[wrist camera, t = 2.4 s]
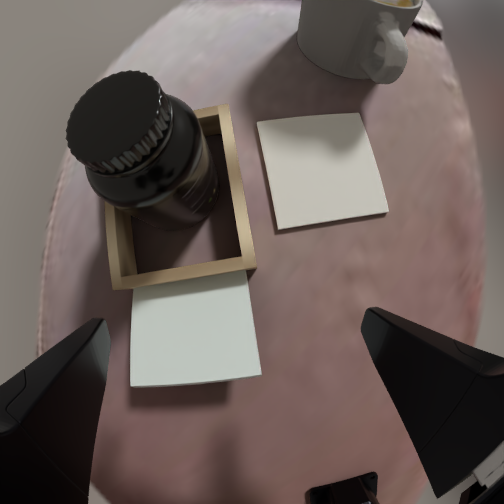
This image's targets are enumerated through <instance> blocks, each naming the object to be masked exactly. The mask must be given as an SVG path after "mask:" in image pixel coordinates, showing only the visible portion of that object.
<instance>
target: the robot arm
mask: <svg viewBox="0 0 504 504" xmlns="http://www.w3.org/2000/svg"><path fill="white" fill-rule="evenodd" d="M361 333H362V335H363V338H364V340H365V343H366V345H367V348H368V350H369V353H370V355H371V358H372V360H373V363H374V365H375V367H376V369H377V371H378V373H379V375H380V377H381V379H382V381H383V383H384V385H385V387H386V389H387V391H388V393H389V395H390V397H391V399H392V401H393V403H394V405H395V407H396V409H397V411H398V413H399V415H400V417H401V419H402V421H403V423H404V425H405V427H406V430H407V432H408V434H409V436H410V438H411V440H412V442H413V445H414V447H415V449H416V451H417V453H418V456H419V458H420V461H421V463H422V465H423V467H424V470H425V472H426V474H427V477H428V479H429V481H430V484H431V486H432V489H433V491H434V493H435V495H436V497H437V498H440V497H441V496H443V495H444V494H446V493H447V492H449V491H450V490H451V489H453V488H455V487H456V486H457V485H459V484H460V483H462V482H463V481H464V480H466V479H467V478H468V477H470V476H471V475H472V474H473V475H474V476H475V478H476V479H477V482H475V483H474V484H473V485H472V486H470V487H469V488H468V489H467V490H465V491H464V492H463V493H462V494H461V497H460V502H459V504H504V358H503V357H500V356H497V355H494V354H491V353H488V352H486V351H483V350H480V349H477V348H474V347H472V346H469V345H467V344H464V343H462V342H459V341H457V340H455V339H452V338H450V337H447V336H445V335H443V334H440V333H438V332H436V331H433V330H431V329H428V328H426V327H424V326H421V325H419V324H417V323H414V322H412V321H409V320H407V319H405V318H402V317H400V316H398V315H395V314H393V313H391V312H388V311H386V310H383V309H381V308H379V307H371V308H368V309H367V310H366V311H365V315H364V318H363V321H362V325H361ZM110 346H111V340H110V336H109V332H108V328H107V323H106V321H105V319H103V318H92V319H91V320H89V321H88V322H87V323H85V324H84V325H82V326H81V327H80V328H78V329H77V330H75V331H74V332H73V333H71V334H70V335H68V336H67V337H66V338H64V339H63V340H62V341H60V342H59V343H57V344H56V345H55V346H53V347H52V348H51V349H49V350H48V351H47V352H45V353H44V354H43V355H41V356H40V357H38V358H37V359H36V360H34V361H33V362H32V363H30V364H29V365H28V366H26V367H25V369H23V370H21V371H20V372H19V373H17V374H16V375H15V376H13V377H12V378H10V379H9V380H8V381H7V382H5V383H3V384H2V385H1V386H0V504H88V496H89V485H90V475H91V467H92V459H93V452H94V445H95V439H96V433H97V427H98V421H99V416H100V411H101V406H102V401H103V396H104V391H105V386H106V380H107V371H108V362H109V354H110ZM372 476H373V477H372ZM377 480H378V475H377V473H376V472H370V473H367V474H364V475H361V476H357V477H354V478H351V479H347V480H343V481H340V482H336V483H332V484H328V485H323V486H319V487H314V488H312V489H310V491H309V494H310V502H311V504H379V502H378V500H377V498H376V495H377ZM313 492H314V493H313Z"/></svg>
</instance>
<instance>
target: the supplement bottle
mask: <svg viewBox="0 0 504 504" xmlns="http://www.w3.org/2000/svg"><path fill="white" fill-rule="evenodd" d="M66 132H67V136H66V140H67V141H68V147H69V148H70V149H71V150H70V151H71V153H72V155H74V156H75V157H76V159H77V160H78V161H79V162H81V163H82V164H84V165H85V170H86V174H87V178H88V181H89V183H90V185H91V187H92V188H93V190H94V191H95V193H96V194H97V195H98V196H99V197H100V198H101V199H103V200H104V201H106V202H107V203H109V204H110V205H112V206H114V207H116V208H118V209H120V210H122V211H124V212H126V213H128V214H130V215H132V216H134V217H136V218H138V219H140V220H142V221H144V222H146V223H148V224H150V225H152V226H154V227H157V228H159V229H163V230H169V231H177V230H183V229H186V228H189V227H191V226H193V225H195V224H197V223H198V222H200V221H201V220H202V219H203V218H205V217H206V215H207V214H208V213H209V212H210V211H211V209H212V208H213V206H214V204H215V202H216V199H217V196H218V191H219V178H218V173H217V170H216V167H215V164H214V161H213V158H212V155H211V153H210V150H209V147H208V144H207V142H206V139H205V136H204V133H203V130H202V128H201V125H200V123H199V120H198V118H197V116H196V115H195V113H194V112H193V110H192V109H191V108H190V107H189V106H188V105H187V104H186V103H185V102H183V101H182V100H180V99H178V98H176V97H174V96H171V95H168V94H165V93H164V92H163V90H162V89H161V86H160V85H159V83H158V82H157V81H155V79H154V78H153V77H152V76H148V74H147V73H141V72H140V71H131V70H129V71H126V72H123V71H121V72H119V73H117V74H112V75H110V76H109V77H106V78H103V79H102V80H101V81H99V82H97V83H95V84H94V85H93V86H92V87H91V88H90V89H88V90H87V91H86V93H85V94H84V95H83V96H82V97H81V98H80V100H79V101H78V103H76V105H75V107H74V109H73V111H72V112H71V115H70V118H69V120H68V126H67V129H66Z"/></svg>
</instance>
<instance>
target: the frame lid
mask: <svg viewBox="0 0 504 504" xmlns="http://www.w3.org/2000/svg"><path fill="white" fill-rule="evenodd" d="M260 376H262V372H261V366H260V359H259V353H258V346H257V340H256V333H255V327H254V320H253V314H252V307H251V301H250V294H249V287H248V281H247V274H246V270H242V271H236V272H230V273H224V274H218V275H212V276H206V277H200V278H194V279H188V280H182V281H176V282H169V283H163V284H157V285H151V286H144V287H138V288H133V302H132V319H131V349H130V383H131V386H132V387H135V388H137V387H165V386H181V385H194V384H205V383H215V382H224V381H232V380H240V379H247V378H254V377H260Z"/></svg>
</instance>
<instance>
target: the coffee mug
mask: <svg viewBox="0 0 504 504" xmlns="http://www.w3.org/2000/svg"><path fill="white" fill-rule="evenodd" d="M422 3H423V0H302V4H301V11H300V18H299V25H298V32H297V43H298V45H299V47H300V50H301V51H302V52H303V54H304V55H305V56H306V57H307V58H308V59H309V60H310V61H312V62H313V63H314V64H316V65H317V66H319V67H321V68H322V69H324V70H326V71H328V72H331V73H333V74H336V75H338V76H342V77H347V78H352V79H370V78H371V80H373V81H374V82H376V83H378V84H390V83H393V82H394V81H396V80H397V79H398V78H399V76H400V75H401V74H402V72H403V70H404V68H405V66H406V63H407V58H408V49H407V44H406V41H405V39H404V37H405V35H406V34H407V32H408V30H409V28H410V26H411V25H412V23H413V21H414V19H415V17H416V16H417V14H418V12H419V10H420V8H421V6H422Z"/></svg>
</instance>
